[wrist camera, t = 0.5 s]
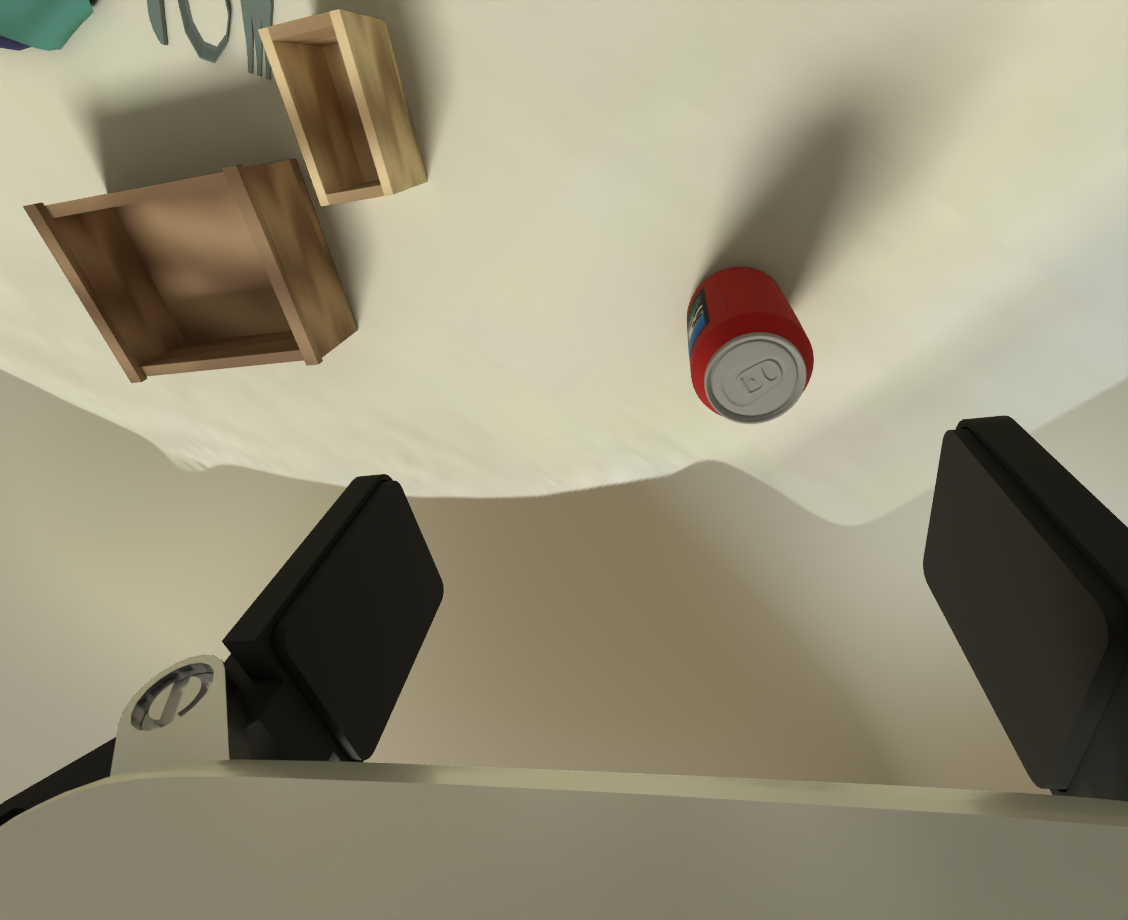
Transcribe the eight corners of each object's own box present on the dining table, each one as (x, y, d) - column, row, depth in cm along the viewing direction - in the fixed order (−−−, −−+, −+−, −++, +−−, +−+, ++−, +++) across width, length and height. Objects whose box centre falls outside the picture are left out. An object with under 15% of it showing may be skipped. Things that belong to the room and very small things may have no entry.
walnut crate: (104, 191, 43) (22, 206, 38) (295, 155, 40) (236, 165, 34) (189, 351, 50) (131, 382, 44) (359, 332, 46) (318, 364, 41)
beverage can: (668, 299, 41) (668, 365, 31) (755, 242, 38) (785, 296, 28) (714, 370, 43) (728, 453, 34) (799, 323, 40) (842, 398, 31)
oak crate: (314, 37, 36) (257, 29, 31) (386, 20, 35) (339, 9, 30) (363, 192, 40) (321, 206, 35) (427, 181, 39) (393, 194, 34)
